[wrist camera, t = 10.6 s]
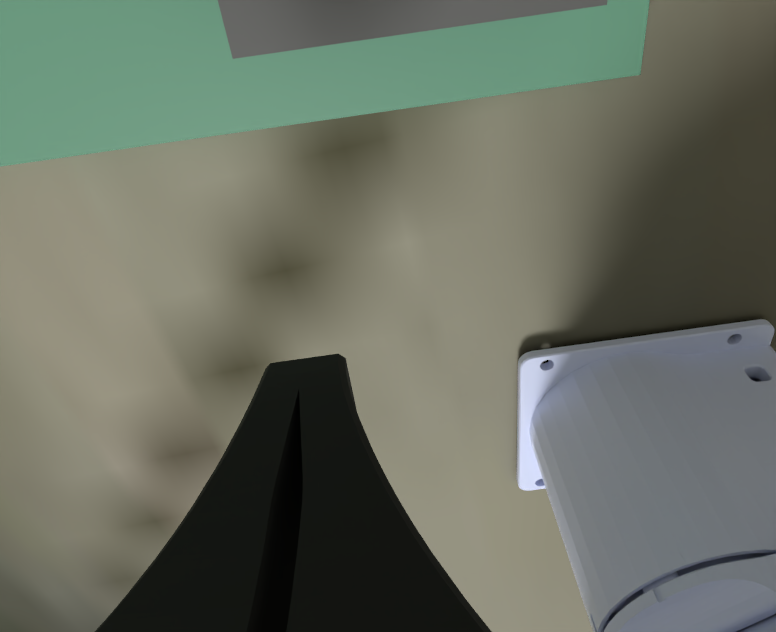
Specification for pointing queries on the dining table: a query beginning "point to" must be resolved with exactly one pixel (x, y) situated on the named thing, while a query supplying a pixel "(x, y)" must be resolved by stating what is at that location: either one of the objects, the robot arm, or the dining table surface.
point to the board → (281, 63)
